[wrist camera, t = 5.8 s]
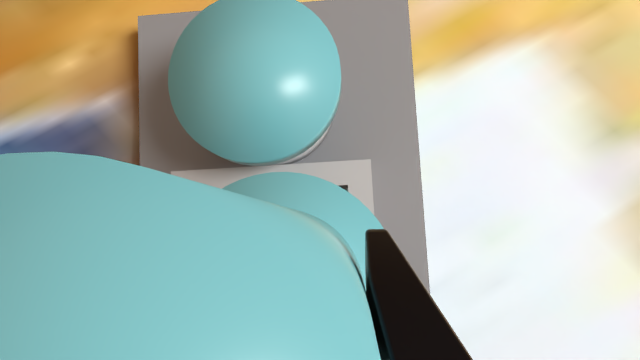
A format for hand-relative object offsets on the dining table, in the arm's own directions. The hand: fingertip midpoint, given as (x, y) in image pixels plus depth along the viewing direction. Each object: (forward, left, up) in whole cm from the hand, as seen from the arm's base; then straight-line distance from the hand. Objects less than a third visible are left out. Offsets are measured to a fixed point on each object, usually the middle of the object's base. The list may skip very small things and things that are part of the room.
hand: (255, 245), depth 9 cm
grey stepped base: (+1, +2, -13) cm, 13 cm away
